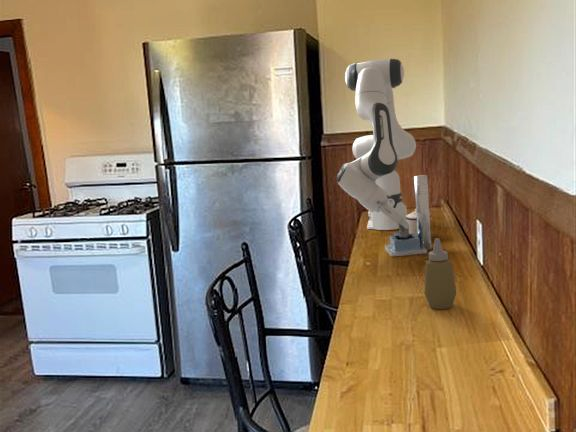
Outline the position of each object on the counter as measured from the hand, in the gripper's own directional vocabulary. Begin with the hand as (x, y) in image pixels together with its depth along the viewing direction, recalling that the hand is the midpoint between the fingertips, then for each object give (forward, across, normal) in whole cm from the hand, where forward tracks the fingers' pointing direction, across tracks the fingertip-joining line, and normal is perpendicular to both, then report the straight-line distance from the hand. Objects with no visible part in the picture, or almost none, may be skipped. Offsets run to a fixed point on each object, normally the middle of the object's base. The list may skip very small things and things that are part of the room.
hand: (405, 224), depth 210 cm
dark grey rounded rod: (+6, 0, +7) cm, 10 cm away
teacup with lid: (+13, +17, +1) cm, 21 cm away
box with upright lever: (+7, +3, +6) cm, 10 cm away
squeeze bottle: (+4, -58, +9) cm, 59 cm away
